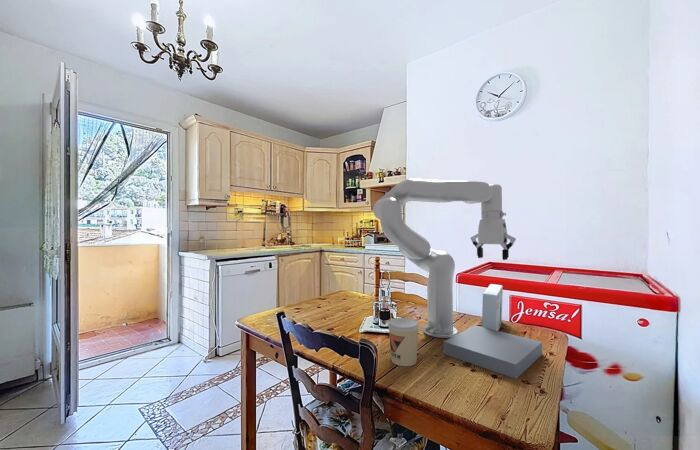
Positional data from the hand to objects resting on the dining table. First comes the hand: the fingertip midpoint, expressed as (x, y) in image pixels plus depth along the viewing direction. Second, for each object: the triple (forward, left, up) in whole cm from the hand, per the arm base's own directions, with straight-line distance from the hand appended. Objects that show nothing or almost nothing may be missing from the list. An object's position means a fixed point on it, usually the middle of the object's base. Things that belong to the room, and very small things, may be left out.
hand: (492, 258), depth 121 cm
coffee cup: (-48, +7, -28) cm, 56 cm away
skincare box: (0, 0, -28) cm, 28 cm away
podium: (-24, -10, -28) cm, 38 cm away
